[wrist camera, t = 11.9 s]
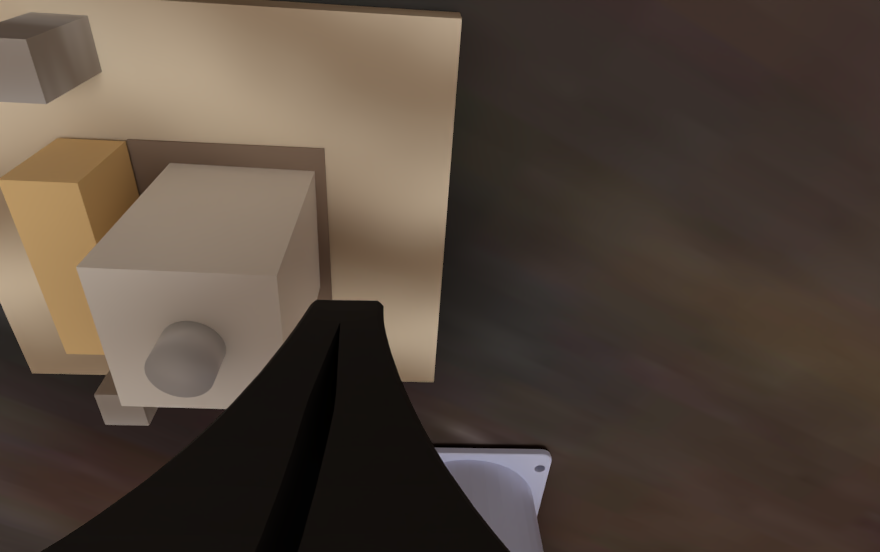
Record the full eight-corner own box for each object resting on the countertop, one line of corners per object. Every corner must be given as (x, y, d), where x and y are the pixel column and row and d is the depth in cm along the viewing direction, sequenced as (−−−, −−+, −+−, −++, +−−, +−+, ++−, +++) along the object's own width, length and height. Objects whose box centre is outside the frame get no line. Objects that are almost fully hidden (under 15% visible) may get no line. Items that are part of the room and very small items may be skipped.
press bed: (433, 365, 25) (435, 439, 21) (45, 356, 24) (-15, 432, 20) (460, 12, 17) (470, 42, 14) (-116, -24, 16) (-255, -1, 13)
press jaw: (165, 299, 21) (131, 355, 18) (108, 298, 21) (66, 354, 18) (125, 141, 18) (77, 183, 15) (57, 138, 17) (-3, 179, 15)
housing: (320, 286, 21) (282, 439, 15) (193, 281, 21) (105, 434, 15) (314, 171, 18) (267, 301, 13) (169, 162, 18) (53, 292, 12)
